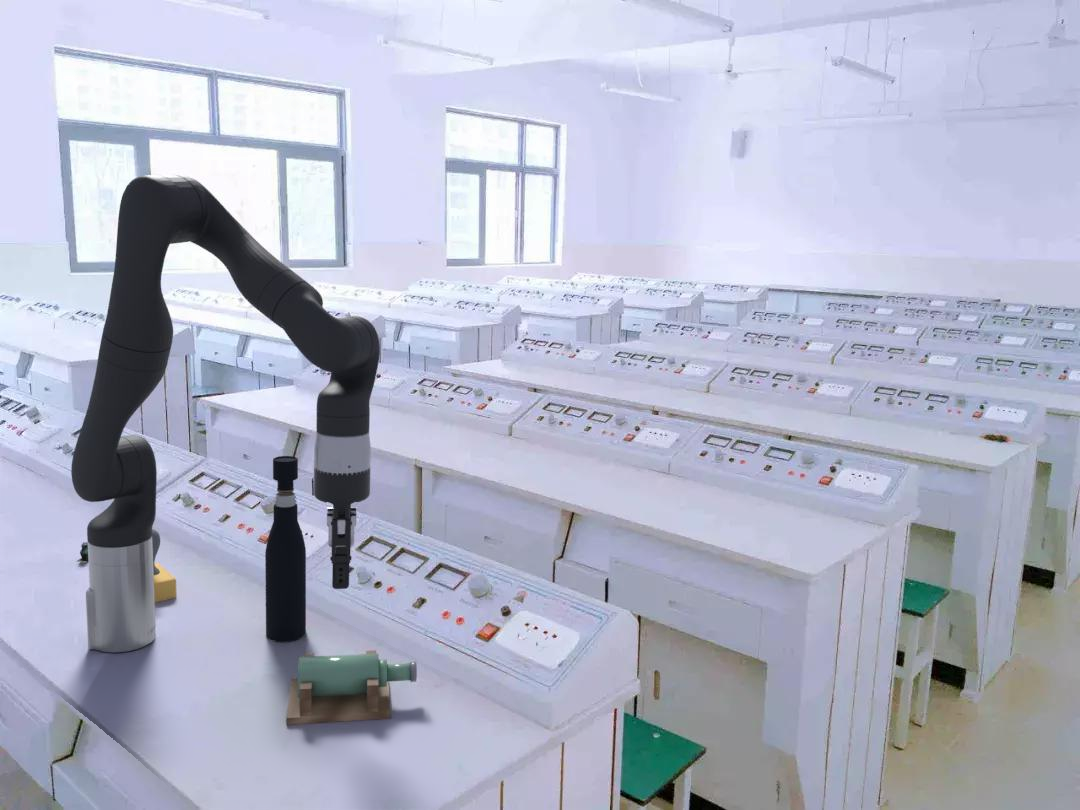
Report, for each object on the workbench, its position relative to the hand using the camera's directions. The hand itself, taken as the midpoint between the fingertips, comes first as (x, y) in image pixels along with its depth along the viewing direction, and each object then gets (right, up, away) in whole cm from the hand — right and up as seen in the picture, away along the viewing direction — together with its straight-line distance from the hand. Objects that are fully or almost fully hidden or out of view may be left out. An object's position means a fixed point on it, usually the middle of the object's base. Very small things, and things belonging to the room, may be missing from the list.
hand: (340, 575), depth 125 cm
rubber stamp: (-43, -10, +38) cm, 58 cm away
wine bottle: (-14, -14, +24) cm, 31 cm away
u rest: (-1, -19, +3) cm, 19 cm away
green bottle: (+2, -17, +4) cm, 18 cm away
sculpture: (-61, -7, +51) cm, 80 cm away
